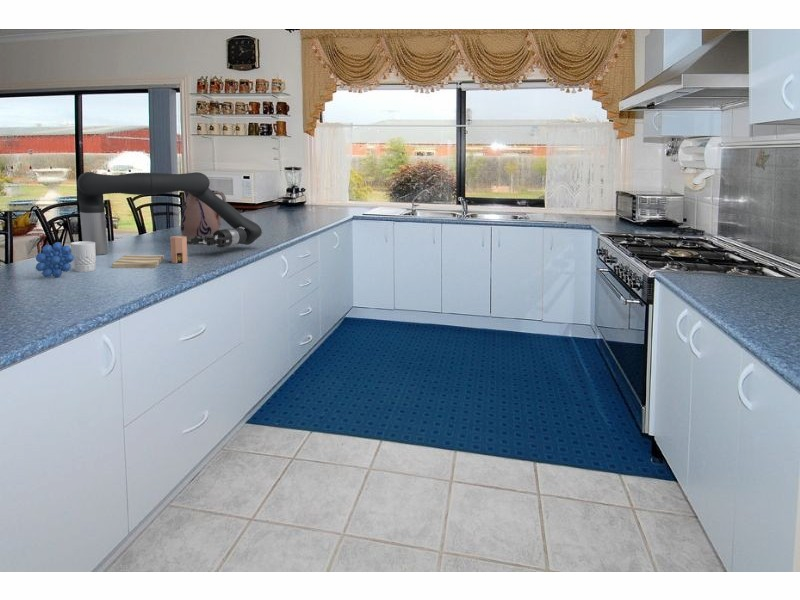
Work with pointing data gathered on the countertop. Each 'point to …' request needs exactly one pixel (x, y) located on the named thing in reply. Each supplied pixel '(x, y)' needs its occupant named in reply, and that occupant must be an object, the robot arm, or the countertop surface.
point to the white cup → (84, 256)
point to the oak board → (138, 261)
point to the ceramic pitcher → (199, 217)
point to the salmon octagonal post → (178, 248)
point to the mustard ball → (179, 257)
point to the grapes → (54, 260)
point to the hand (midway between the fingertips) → (199, 242)
